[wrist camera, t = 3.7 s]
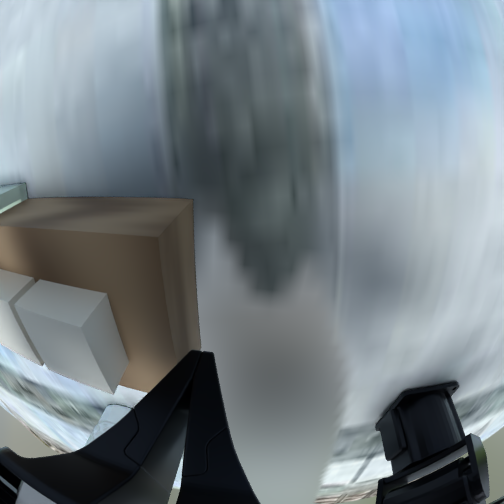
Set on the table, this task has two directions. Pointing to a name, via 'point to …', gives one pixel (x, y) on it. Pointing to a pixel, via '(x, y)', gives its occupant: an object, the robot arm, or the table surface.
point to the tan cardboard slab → (117, 268)
